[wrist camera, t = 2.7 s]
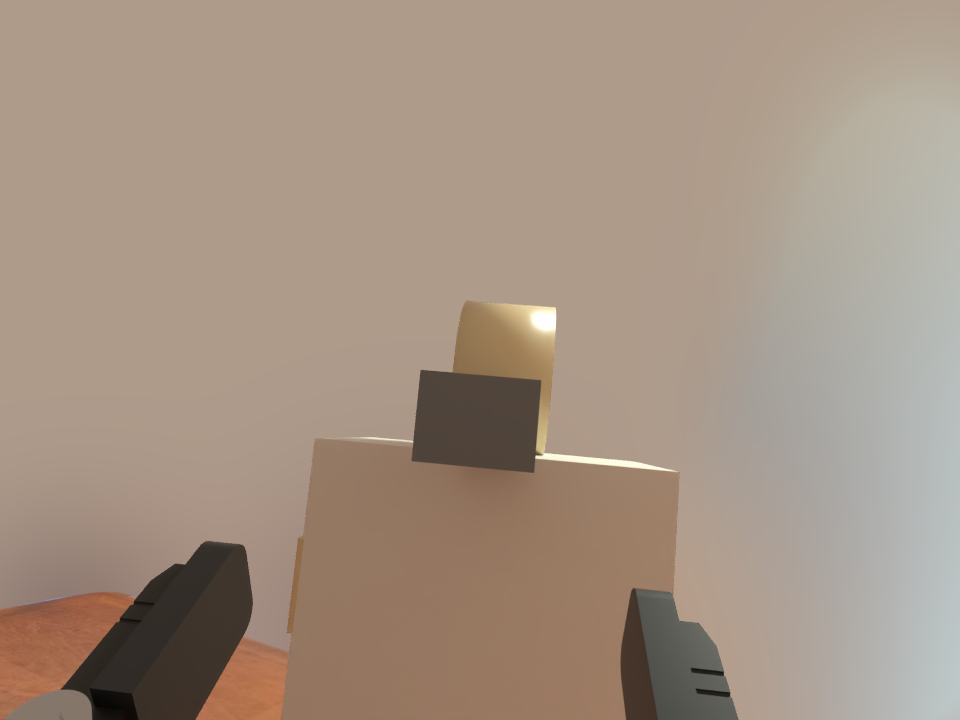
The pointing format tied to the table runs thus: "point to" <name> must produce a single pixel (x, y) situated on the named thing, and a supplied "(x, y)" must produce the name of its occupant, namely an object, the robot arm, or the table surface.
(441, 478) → the tall box
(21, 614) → the table surface
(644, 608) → the robot arm
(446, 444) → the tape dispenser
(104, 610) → the table surface
